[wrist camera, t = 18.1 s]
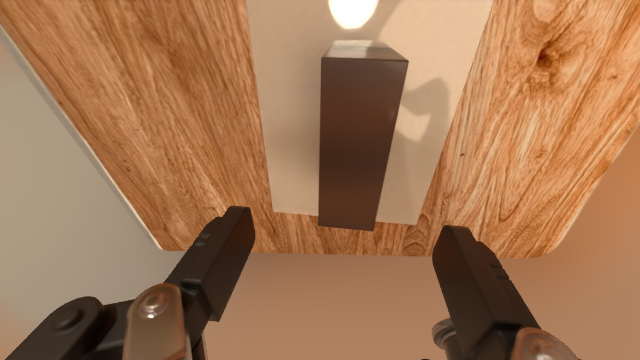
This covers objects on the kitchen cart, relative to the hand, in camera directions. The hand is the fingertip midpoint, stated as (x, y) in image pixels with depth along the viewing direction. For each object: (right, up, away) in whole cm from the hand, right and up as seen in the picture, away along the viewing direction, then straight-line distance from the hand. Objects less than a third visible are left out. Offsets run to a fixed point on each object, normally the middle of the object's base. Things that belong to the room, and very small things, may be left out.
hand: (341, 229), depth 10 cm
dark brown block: (+2, +6, +9) cm, 11 cm away
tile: (+2, +7, +10) cm, 13 cm away
